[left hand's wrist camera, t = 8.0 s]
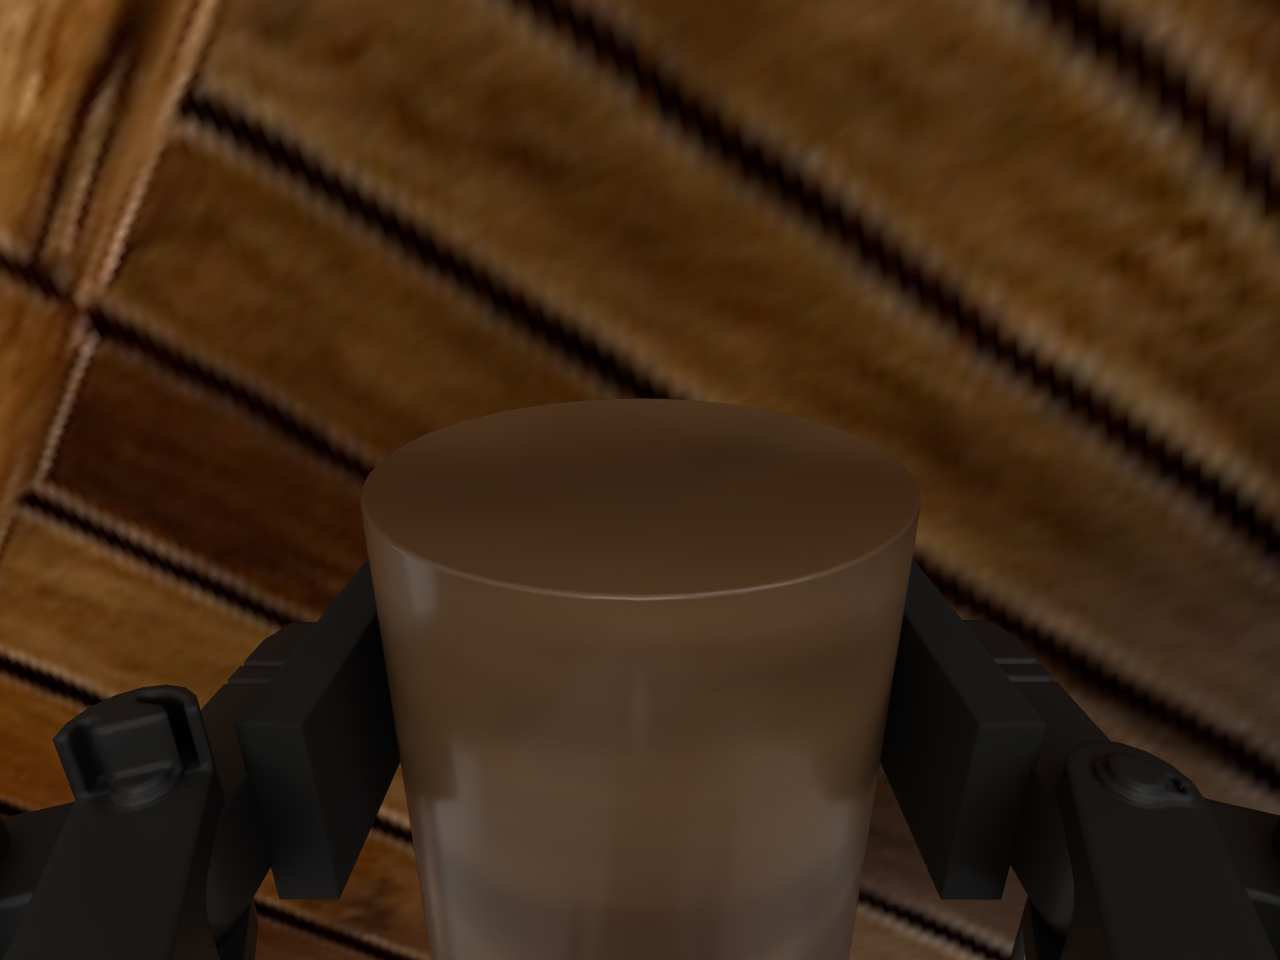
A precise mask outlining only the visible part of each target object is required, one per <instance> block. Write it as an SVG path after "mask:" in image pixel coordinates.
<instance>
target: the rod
mask: <svg viewBox="0 0 1280 960" xmlns="http://www.w3.org/2000/svg"><path fill="white" fill-rule="evenodd" d="M360 506H361V512H362V519H363V525H364V531H365V538H366V544H367V551H368V557H369V563H370V570H371V576H372V583H373V589H374V595H375V602H376V608H377V614H378V621H379V627H380V634H381V640H382V646H383V653H384V659H385V665H386V672H387V678H388V685H389V691H390V697H391V704H392V710H393V717H394V723H395V729H396V736H397V742H398V748H399V755H400V761H401V768H402V774H403V780H404V787H405V793H406V799H407V806H408V812H409V819H410V825H411V831H412V838H413V844H414V851H415V857H416V863H417V870H418V876H419V882H420V889H421V895H422V902H423V908H424V914H425V921H426V927H427V933H428V940H429V946H430V953H431V959H432V960H849V955H850V948H851V942H852V936H853V930H854V923H855V917H856V911H857V904H858V898H859V892H860V885H861V879H862V873H863V866H864V860H865V854H866V847H867V841H868V835H869V828H870V822H871V816H872V809H873V803H874V797H875V790H876V784H877V778H878V771H879V765H880V759H881V752H882V746H883V740H884V734H885V727H886V721H887V715H888V708H889V702H890V696H891V689H892V683H893V677H894V670H895V664H896V658H897V651H898V645H899V639H900V632H901V626H902V620H903V613H904V607H905V601H906V594H907V588H908V582H909V575H910V569H911V563H912V556H913V550H914V544H915V538H916V531H917V525H918V519H919V512H920V506H921V502H920V494H919V488H918V486H917V484H916V482H915V480H914V478H913V476H912V474H911V473H910V472H909V471H908V470H907V469H906V468H905V466H904V465H903V464H902V463H901V462H900V461H898V460H897V459H896V458H895V457H893V456H892V455H891V454H889V453H888V452H887V451H885V450H883V449H881V448H880V447H878V446H876V445H875V444H873V443H871V442H869V441H867V440H865V439H863V438H861V437H858V436H856V435H854V434H852V433H849V432H846V431H844V430H841V429H838V428H836V427H833V426H830V425H827V424H824V423H820V422H817V421H814V420H810V419H807V418H802V417H798V416H794V415H790V414H786V413H781V412H776V411H771V410H766V409H760V408H754V407H747V406H741V405H733V404H724V403H715V402H703V401H691V400H671V399H609V400H589V401H577V402H565V403H556V404H548V405H540V406H533V407H527V408H520V409H514V410H509V411H504V412H499V413H494V414H490V415H486V416H482V417H478V418H474V419H470V420H467V421H463V422H460V423H457V424H453V425H450V426H447V427H445V428H442V429H439V430H437V431H434V432H431V433H429V434H426V435H424V436H422V437H420V438H418V439H416V440H413V441H411V442H409V443H407V444H406V445H404V446H402V447H401V448H399V449H397V450H396V451H394V452H392V453H391V454H390V455H389V456H387V457H386V458H385V459H384V460H382V461H381V462H380V463H379V464H378V465H377V466H376V467H375V468H374V469H373V471H372V472H371V473H370V474H369V476H368V478H367V480H366V482H365V484H364V486H363V488H362V493H361V502H360Z"/></svg>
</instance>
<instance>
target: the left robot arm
mask: <svg viewBox="0 0 1280 960" xmlns="http://www.w3.org/2000/svg"><path fill="white" fill-rule="evenodd" d="M53 742H54V744H55V747H56V750H57V752H58V755H59V758H60V760H61V763H62V766H63V768H64V771H65V773H66V776H67V779H68V781H69V784H70V787H71V789H72V792H73V795H74V797H75V802H71V803H67V804H63V805H59V806H54V807H50V808H45V809H41V810H36V811H32V812H28V813H23V814H19V815H14V816H10V817H5V818H2V816H1V814H0V960H255V951H256V943H257V934H258V919H257V912H256V908H255V904H254V900H253V897H254V895H255V893H256V892H257V890H258V888H259V886H260V885H261V883H262V881H263V879H264V878H265V876H266V874H267V872H268V871H269V869H270V867H271V869H272V872H273V876H274V880H275V884H276V888H277V892H278V896H279V899H340V897H341V895H342V892H343V890H344V888H345V886H346V883H347V881H348V879H349V877H350V874H351V872H352V870H353V868H354V865H355V863H356V861H357V858H358V856H359V854H360V852H361V849H362V847H363V845H364V843H365V840H366V838H367V836H368V834H369V831H370V829H371V827H372V825H373V822H374V820H375V818H376V816H377V813H378V811H379V809H380V807H381V804H382V802H383V800H384V797H385V795H386V793H387V791H388V788H389V786H390V784H391V782H392V779H393V777H394V775H395V773H396V770H397V768H398V766H399V764H400V755H399V748H398V742H397V736H396V729H395V723H394V717H393V710H392V704H391V697H390V691H389V685H388V678H387V672H386V665H385V659H384V653H383V646H382V640H381V634H380V627H379V621H378V614H377V608H376V602H375V595H374V589H373V583H372V576H371V570H370V563H369V558H368V559H367V560H366V562H365V563H364V564H363V565H362V567H361V568H360V569H359V570H358V572H357V573H356V574H355V575H354V576H353V578H352V579H351V580H350V581H349V583H348V584H347V585H346V586H345V588H344V589H343V590H342V591H341V593H340V594H339V595H338V596H337V598H336V599H335V600H334V601H333V603H332V604H331V605H330V606H329V608H328V609H327V610H326V611H325V613H324V614H323V615H322V616H321V618H320V619H319V620H318V621H317V622H292V623H291V624H289V625H287V626H286V627H284V628H283V629H281V630H279V631H278V632H276V633H275V634H273V635H272V636H270V637H268V638H267V639H265V640H264V641H263V642H262V643H261V644H260V645H259V646H258V647H257V648H256V649H255V650H254V652H253V653H252V654H251V655H250V656H249V657H248V658H247V659H246V661H245V662H244V666H240V667H239V668H238V669H237V671H236V672H235V673H234V674H233V675H232V676H231V677H230V678H229V679H228V684H224V685H223V686H222V687H221V688H220V690H219V691H218V692H217V693H216V694H215V695H214V696H213V697H212V698H211V700H210V701H209V702H208V703H207V704H206V705H205V706H204V707H203V708H202V710H201V711H200V707H199V703H198V700H197V696H196V695H195V694H194V693H192V692H191V691H190V690H188V689H187V688H185V687H179V686H172V685H160V686H151V687H142V688H139V689H135V690H132V691H129V692H125V693H122V694H118V695H115V696H113V697H111V698H109V699H106V700H104V701H102V702H100V703H98V704H96V705H94V706H91V707H89V708H88V709H86V710H85V711H83V712H82V713H81V714H79V715H78V716H76V717H75V718H73V719H72V720H71V721H69V722H68V723H66V725H65V726H64V727H63V728H62V729H61V730H60V732H59V733H58V734H57V735H56V736H55V737H54V739H53ZM880 763H881V765H882V767H883V769H884V772H885V774H886V776H887V778H888V781H889V783H890V785H891V787H892V790H893V792H894V794H895V796H896V799H897V801H898V803H899V805H900V808H901V810H902V812H903V815H904V817H905V819H906V821H907V824H908V826H909V828H910V830H911V833H912V835H913V837H914V839H915V842H916V844H917V846H918V848H919V851H920V853H921V855H922V857H923V860H924V862H925V864H926V866H927V869H928V871H929V873H930V876H931V878H932V880H933V882H934V885H935V887H936V889H937V891H938V894H939V896H940V898H941V899H1001V898H1002V894H1003V890H1004V886H1005V882H1006V878H1007V875H1008V871H1009V867H1010V865H1011V866H1012V868H1013V870H1014V872H1015V873H1016V875H1017V877H1018V879H1019V880H1020V882H1021V884H1022V885H1023V887H1024V889H1025V891H1026V892H1027V894H1028V897H1027V900H1026V904H1025V908H1024V911H1023V915H1022V918H1021V922H1020V926H1019V929H1018V933H1017V936H1016V940H1015V944H1014V947H1013V951H1012V956H1011V960H1023V959H1024V955H1025V958H1026V960H1280V815H1275V814H1271V813H1266V812H1262V811H1257V810H1253V809H1249V808H1244V807H1240V806H1235V805H1231V804H1226V803H1222V802H1217V801H1213V800H1209V799H1206V798H1204V797H1203V796H1202V795H1201V793H1200V792H1199V791H1198V789H1197V788H1196V786H1195V785H1194V784H1193V782H1192V781H1191V780H1189V779H1188V778H1187V777H1186V776H1184V775H1183V774H1182V773H1181V772H1179V771H1178V770H1177V769H1176V768H1174V767H1173V766H1172V765H1171V764H1169V763H1167V762H1165V761H1163V760H1161V759H1159V758H1157V757H1155V756H1154V755H1152V754H1150V753H1148V752H1146V751H1143V750H1140V749H1137V748H1134V747H1131V746H1128V745H1125V744H1122V743H1116V742H1111V741H1110V740H1109V739H1108V738H1107V737H1106V736H1105V735H1104V733H1103V732H1102V731H1101V730H1100V729H1099V728H1098V727H1097V726H1096V725H1095V723H1094V722H1093V721H1092V720H1091V719H1090V718H1089V717H1088V716H1087V715H1086V714H1085V712H1084V711H1083V710H1082V709H1081V708H1080V707H1079V706H1078V705H1077V704H1076V702H1075V701H1074V700H1073V699H1072V698H1071V697H1070V696H1069V695H1068V694H1067V692H1066V691H1065V690H1064V689H1063V688H1062V687H1061V686H1060V685H1059V684H1058V682H1053V677H1052V676H1051V675H1050V674H1049V673H1048V671H1047V670H1046V669H1045V668H1044V667H1043V666H1042V665H1041V664H1037V659H1036V658H1035V657H1034V656H1033V655H1032V654H1031V653H1030V651H1029V650H1028V649H1027V648H1026V647H1025V646H1024V645H1023V644H1022V643H1021V642H1020V640H1019V639H1018V638H1016V637H1015V636H1013V635H1011V634H1010V633H1008V632H1007V631H1005V630H1003V629H1002V628H1000V627H999V626H997V625H995V624H994V623H992V622H991V621H989V620H962V619H961V618H960V617H959V616H958V614H957V613H956V612H955V611H954V609H953V608H952V607H951V606H950V604H949V603H948V602H947V601H946V600H945V598H944V597H943V596H942V595H941V593H940V592H939V591H938V590H937V588H936V587H935V586H934V585H933V583H932V582H931V581H930V580H929V578H928V577H927V576H926V575H925V573H924V572H923V571H922V570H921V568H920V567H919V566H918V565H917V563H916V562H915V561H914V560H913V559H912V563H911V569H910V575H909V582H908V588H907V594H906V601H905V607H904V613H903V620H902V626H901V632H900V639H899V645H898V651H897V658H896V664H895V670H894V677H893V683H892V689H891V696H890V702H889V708H888V715H887V721H886V727H885V734H884V740H883V746H882V752H881V759H880Z"/></svg>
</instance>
